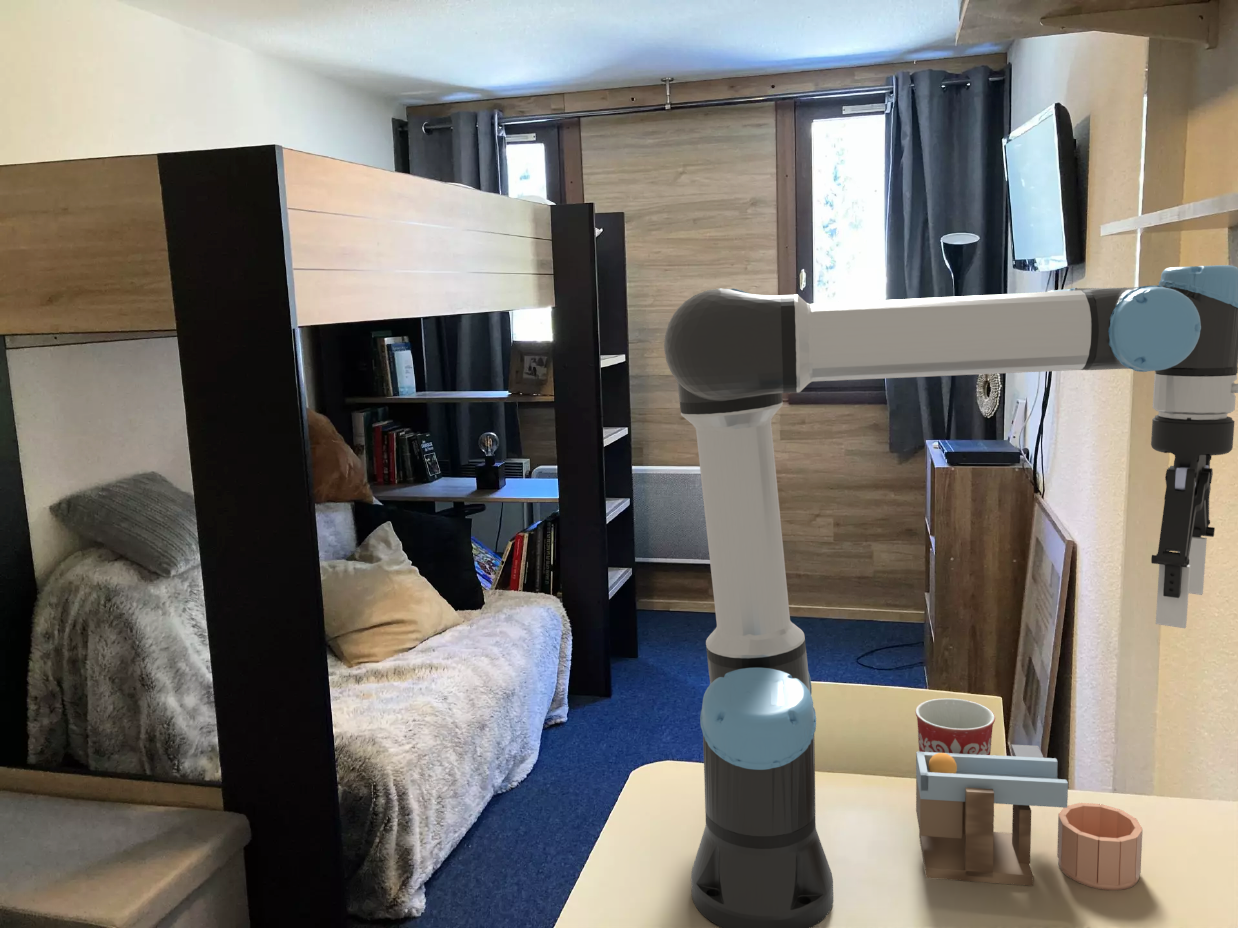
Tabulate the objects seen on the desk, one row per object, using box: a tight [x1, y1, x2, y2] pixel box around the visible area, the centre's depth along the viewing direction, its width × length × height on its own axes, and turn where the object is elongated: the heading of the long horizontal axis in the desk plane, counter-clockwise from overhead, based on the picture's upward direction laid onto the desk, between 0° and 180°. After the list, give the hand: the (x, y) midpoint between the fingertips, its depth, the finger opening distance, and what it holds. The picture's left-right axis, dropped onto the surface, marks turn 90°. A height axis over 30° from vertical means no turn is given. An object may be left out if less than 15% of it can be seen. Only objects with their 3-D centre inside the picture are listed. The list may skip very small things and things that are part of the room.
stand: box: [918, 788, 1034, 887], centre depth 111 cm, size 11×9×10 cm
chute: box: [915, 744, 1069, 838], centre depth 113 cm, size 15×13×7 cm
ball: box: [929, 753, 957, 774], centre depth 110 cm, size 3×3×3 cm
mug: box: [914, 698, 996, 755], centre depth 121 cm, size 13×9×14 cm
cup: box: [1056, 802, 1143, 891], centre depth 108 cm, size 8×8×6 cm
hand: (1180, 608), depth 108 cm, fingers open, 13 cm apart
